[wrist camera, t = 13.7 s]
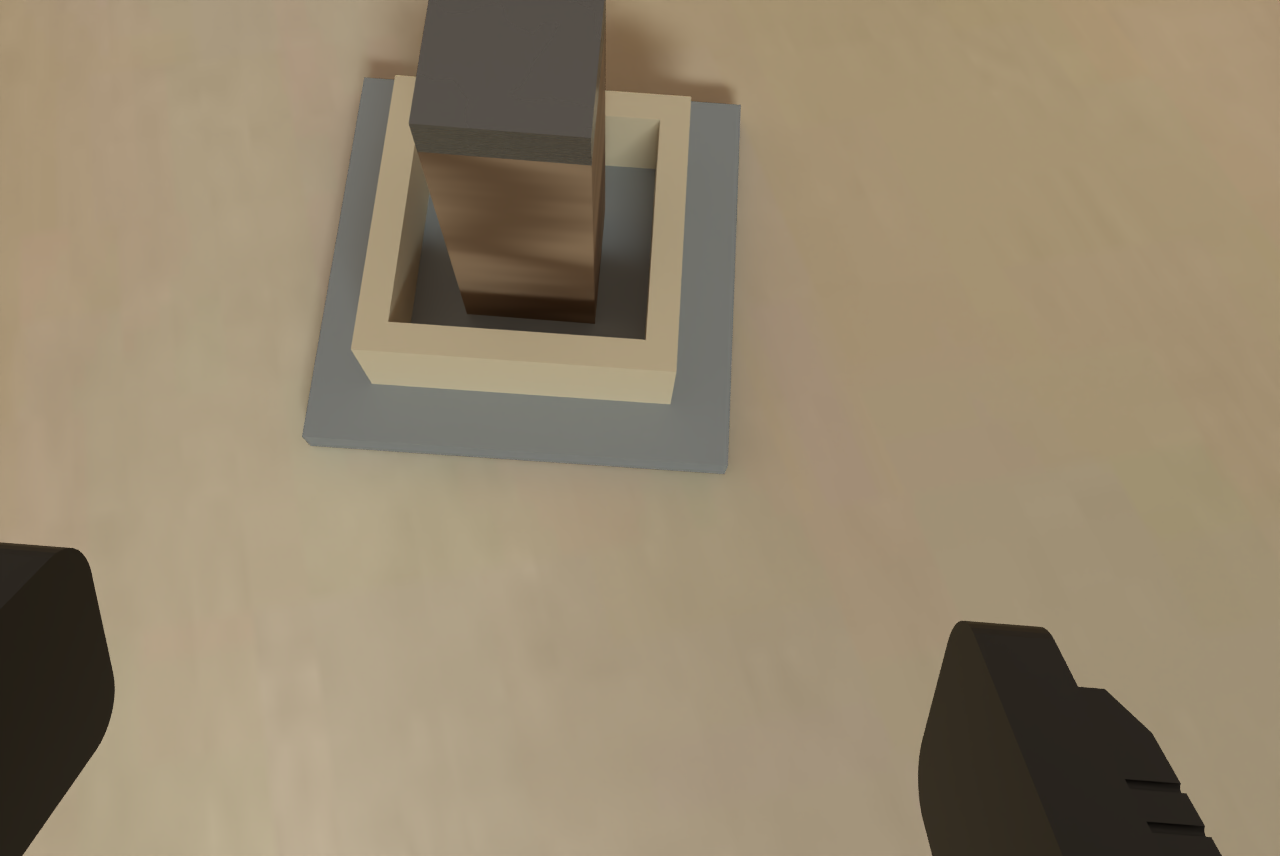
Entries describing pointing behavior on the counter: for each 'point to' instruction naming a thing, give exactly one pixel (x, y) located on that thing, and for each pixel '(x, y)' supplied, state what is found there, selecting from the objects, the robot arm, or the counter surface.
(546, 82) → the tall grey-topped block
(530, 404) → the jig
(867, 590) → the counter surface
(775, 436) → the counter surface
